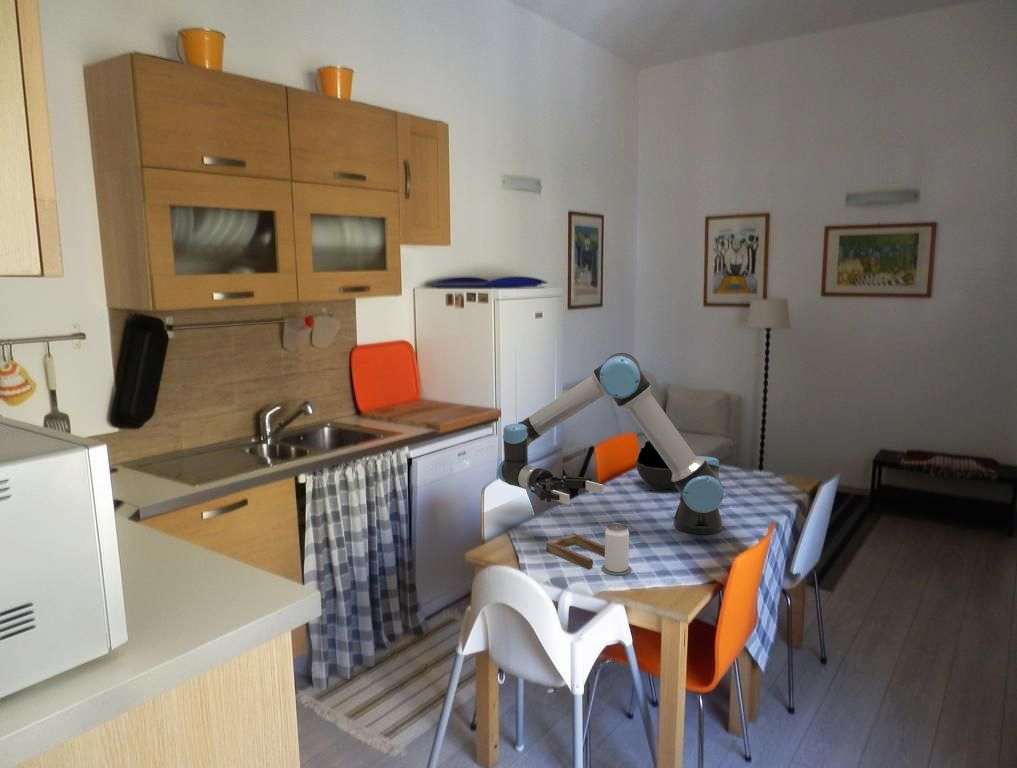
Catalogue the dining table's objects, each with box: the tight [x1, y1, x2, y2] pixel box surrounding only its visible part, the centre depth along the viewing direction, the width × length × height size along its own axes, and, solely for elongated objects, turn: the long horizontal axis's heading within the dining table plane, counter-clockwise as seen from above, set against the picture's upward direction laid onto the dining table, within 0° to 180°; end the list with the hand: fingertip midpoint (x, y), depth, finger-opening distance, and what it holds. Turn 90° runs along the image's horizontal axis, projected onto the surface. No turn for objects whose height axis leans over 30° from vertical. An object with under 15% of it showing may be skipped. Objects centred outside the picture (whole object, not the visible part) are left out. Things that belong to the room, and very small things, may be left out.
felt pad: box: [601, 563, 632, 577], centre depth 201 cm, size 8×8×1 cm
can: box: [604, 522, 630, 573], centre depth 200 cm, size 6×6×12 cm
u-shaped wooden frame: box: [545, 533, 605, 570], centre depth 211 cm, size 12×18×2 cm, turn 39°
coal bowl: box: [635, 440, 676, 490], centre depth 276 cm, size 20×20×19 cm
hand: (586, 494), depth 206 cm, fingers open, 13 cm apart
